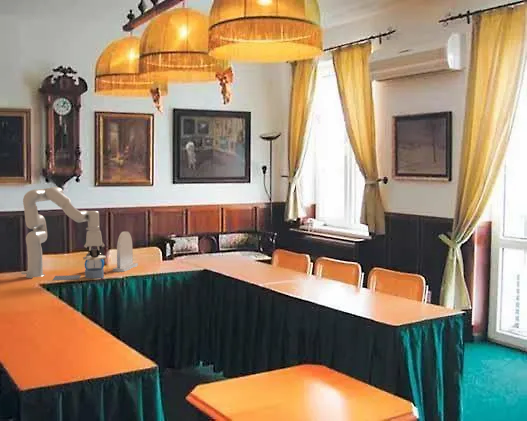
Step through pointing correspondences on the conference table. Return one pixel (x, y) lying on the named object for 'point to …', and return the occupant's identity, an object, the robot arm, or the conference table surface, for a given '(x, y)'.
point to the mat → (67, 277)
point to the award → (124, 253)
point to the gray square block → (94, 273)
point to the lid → (94, 256)
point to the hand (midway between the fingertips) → (94, 255)
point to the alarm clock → (94, 263)
